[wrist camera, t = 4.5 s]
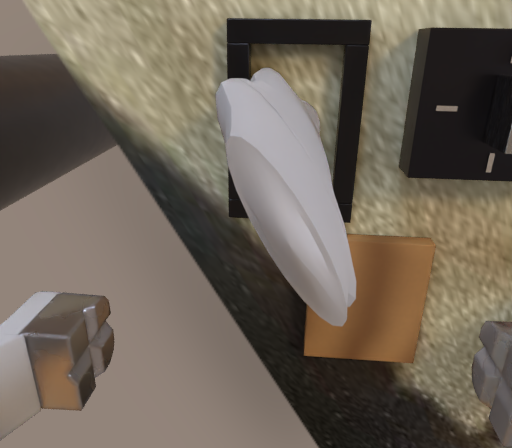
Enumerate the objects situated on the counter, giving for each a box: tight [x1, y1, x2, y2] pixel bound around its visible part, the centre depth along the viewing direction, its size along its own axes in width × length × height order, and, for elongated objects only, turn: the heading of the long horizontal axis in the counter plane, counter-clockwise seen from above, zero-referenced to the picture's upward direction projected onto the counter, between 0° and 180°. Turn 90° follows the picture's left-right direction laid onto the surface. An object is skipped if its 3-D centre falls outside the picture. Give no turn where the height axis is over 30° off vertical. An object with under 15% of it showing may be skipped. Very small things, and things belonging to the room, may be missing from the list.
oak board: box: [304, 234, 436, 363], centre depth 38 cm, size 10×12×2 cm
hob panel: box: [399, 28, 512, 181], centre depth 31 cm, size 11×10×3 cm
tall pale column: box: [216, 68, 356, 327], centre depth 24 cm, size 11×4×22 cm, turn 30°
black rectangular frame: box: [227, 18, 372, 223], centre depth 33 cm, size 10×15×1 cm, turn 179°
